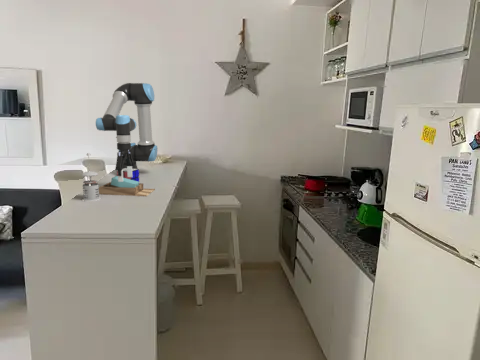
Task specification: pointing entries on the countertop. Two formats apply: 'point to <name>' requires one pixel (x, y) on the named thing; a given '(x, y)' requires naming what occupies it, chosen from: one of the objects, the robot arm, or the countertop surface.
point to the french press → (90, 190)
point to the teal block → (124, 182)
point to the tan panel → (145, 192)
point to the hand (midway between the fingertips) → (125, 179)
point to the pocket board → (119, 190)
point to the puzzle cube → (134, 174)
